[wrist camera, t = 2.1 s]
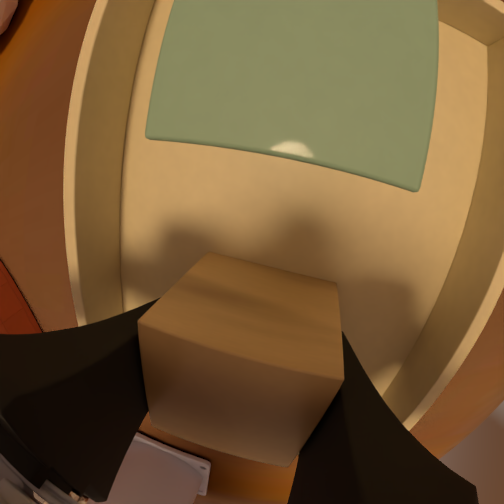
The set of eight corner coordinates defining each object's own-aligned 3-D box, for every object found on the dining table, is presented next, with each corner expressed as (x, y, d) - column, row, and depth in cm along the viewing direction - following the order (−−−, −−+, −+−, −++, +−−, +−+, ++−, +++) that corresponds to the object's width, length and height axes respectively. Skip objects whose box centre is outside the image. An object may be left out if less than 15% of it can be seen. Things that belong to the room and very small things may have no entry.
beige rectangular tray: (373, 414, 11) (376, 462, 8) (124, 346, 13) (93, 381, 10) (491, 44, 5) (532, 24, 2) (156, -14, 7) (115, -43, 4)
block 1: (368, 173, 7) (420, 195, 3) (224, 142, 8) (141, 139, 4) (388, 42, 6) (435, -30, 2) (248, 18, 6) (194, -60, 2)
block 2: (302, 375, 10) (288, 468, 6) (199, 347, 11) (150, 426, 7) (337, 282, 9) (345, 379, 5) (208, 250, 9) (136, 320, 5)
